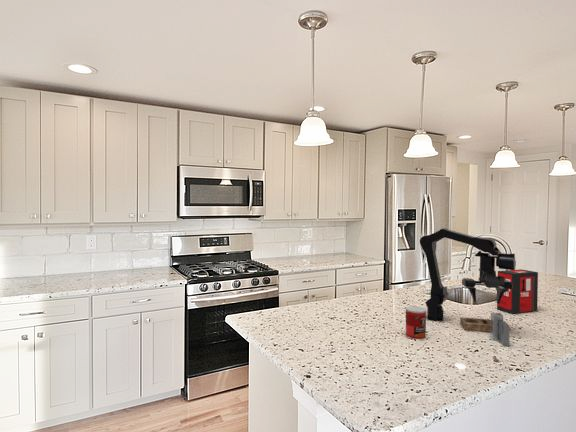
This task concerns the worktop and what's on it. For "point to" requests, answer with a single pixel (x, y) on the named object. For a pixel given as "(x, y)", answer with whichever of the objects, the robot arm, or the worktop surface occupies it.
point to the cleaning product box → (519, 292)
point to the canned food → (415, 322)
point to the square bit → (495, 325)
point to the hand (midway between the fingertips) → (486, 303)
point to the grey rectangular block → (503, 333)
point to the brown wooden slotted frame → (475, 324)
